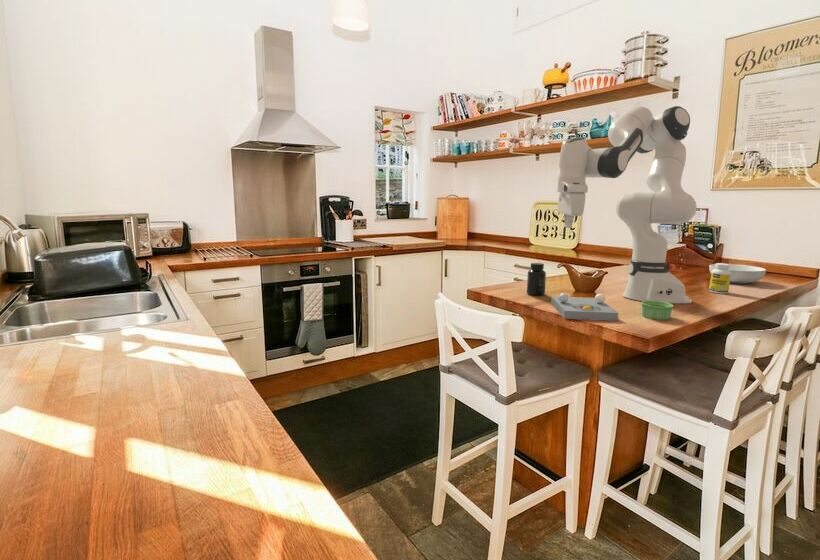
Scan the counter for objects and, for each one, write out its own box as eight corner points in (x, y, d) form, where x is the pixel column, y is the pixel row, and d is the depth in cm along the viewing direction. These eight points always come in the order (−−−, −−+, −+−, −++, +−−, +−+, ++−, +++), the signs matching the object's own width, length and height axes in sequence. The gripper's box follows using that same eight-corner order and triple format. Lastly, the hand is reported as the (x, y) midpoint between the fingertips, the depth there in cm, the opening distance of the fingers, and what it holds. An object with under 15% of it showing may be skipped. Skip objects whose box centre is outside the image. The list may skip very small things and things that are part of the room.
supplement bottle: (542, 292, 175) (545, 262, 172) (546, 296, 168) (548, 265, 166) (525, 292, 175) (527, 261, 173) (527, 295, 169) (529, 264, 166)
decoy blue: (566, 301, 150) (567, 292, 149) (569, 303, 146) (570, 294, 146) (557, 301, 150) (557, 292, 149) (559, 303, 147) (560, 294, 146)
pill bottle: (705, 291, 181) (709, 263, 179) (714, 290, 184) (718, 262, 182) (722, 294, 175) (726, 265, 173) (731, 293, 178) (736, 264, 176)
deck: (550, 303, 158) (551, 296, 157) (597, 304, 156) (598, 298, 155) (564, 318, 138) (564, 310, 138) (617, 320, 136) (618, 312, 136)
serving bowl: (712, 276, 217) (714, 262, 216) (766, 282, 203) (769, 267, 202) (702, 281, 203) (704, 266, 202) (759, 288, 188) (762, 272, 187)
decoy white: (602, 302, 149) (603, 293, 149) (606, 304, 146) (606, 295, 146) (593, 301, 150) (593, 292, 149) (595, 304, 146) (596, 294, 146)
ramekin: (665, 314, 146) (666, 301, 145) (676, 321, 137) (678, 307, 136) (635, 312, 147) (637, 299, 146) (645, 320, 138) (646, 306, 137)
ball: (589, 313, 144) (591, 304, 143) (592, 317, 141) (594, 308, 140) (579, 313, 144) (581, 303, 143) (582, 316, 141) (584, 307, 140)
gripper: (554, 187, 162) (552, 225, 165) (569, 187, 142) (566, 230, 145) (572, 187, 162) (569, 225, 165) (589, 187, 142) (586, 230, 145)
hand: (568, 227), depth 155 cm, fingers closed
